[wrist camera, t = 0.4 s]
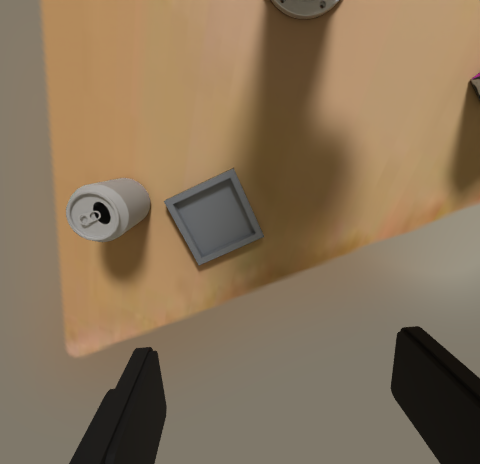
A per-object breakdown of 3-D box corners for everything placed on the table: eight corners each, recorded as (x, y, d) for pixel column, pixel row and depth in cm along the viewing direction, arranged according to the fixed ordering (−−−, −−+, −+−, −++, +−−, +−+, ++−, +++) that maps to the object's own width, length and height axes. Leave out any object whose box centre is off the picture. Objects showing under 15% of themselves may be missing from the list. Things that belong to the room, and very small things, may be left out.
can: (159, 215, 44) (133, 235, 32) (117, 228, 44) (77, 254, 32) (140, 171, 41) (106, 176, 30) (97, 185, 42) (47, 196, 30)
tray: (167, 199, 43) (163, 201, 41) (233, 168, 42) (233, 168, 40) (200, 260, 46) (198, 265, 44) (262, 232, 45) (264, 236, 43)
